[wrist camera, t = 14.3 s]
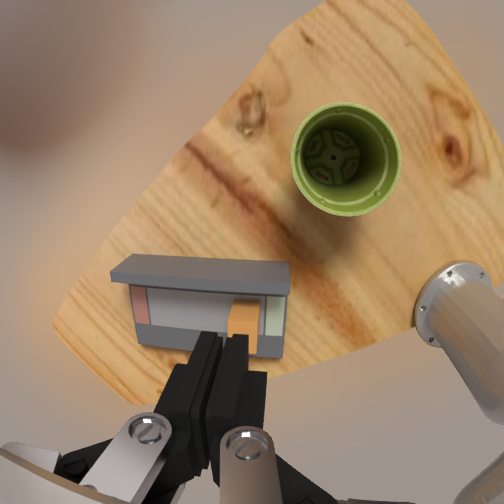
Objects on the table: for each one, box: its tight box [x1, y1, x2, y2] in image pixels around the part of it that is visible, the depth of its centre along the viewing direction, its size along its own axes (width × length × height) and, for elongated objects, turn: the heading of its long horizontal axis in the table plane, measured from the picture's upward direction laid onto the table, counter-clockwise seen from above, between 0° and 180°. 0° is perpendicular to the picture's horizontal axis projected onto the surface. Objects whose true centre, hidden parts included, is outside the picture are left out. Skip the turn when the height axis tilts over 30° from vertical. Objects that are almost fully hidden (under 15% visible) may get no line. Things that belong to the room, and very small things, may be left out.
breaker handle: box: [228, 300, 260, 354], centre depth 34 cm, size 3×4×4 cm
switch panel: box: [110, 254, 290, 358], centre depth 36 cm, size 19×12×6 cm, turn 89°
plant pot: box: [290, 102, 402, 217], centre depth 28 cm, size 9×9×9 cm
